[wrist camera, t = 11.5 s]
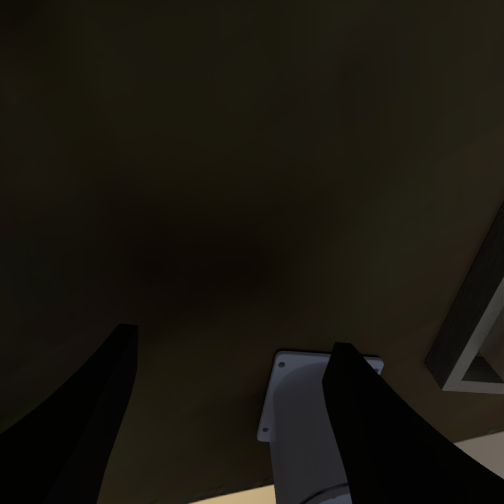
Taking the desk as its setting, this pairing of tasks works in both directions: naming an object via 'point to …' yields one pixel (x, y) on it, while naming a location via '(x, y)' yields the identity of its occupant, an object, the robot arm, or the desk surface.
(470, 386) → the collar
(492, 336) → the birch block
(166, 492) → the desk surface
